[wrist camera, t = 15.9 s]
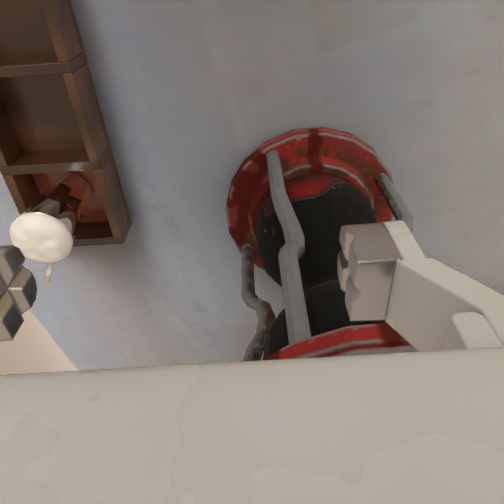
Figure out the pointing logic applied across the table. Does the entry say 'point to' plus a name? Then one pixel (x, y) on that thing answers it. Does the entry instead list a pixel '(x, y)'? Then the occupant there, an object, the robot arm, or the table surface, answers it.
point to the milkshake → (52, 221)
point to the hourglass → (309, 240)
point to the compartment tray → (54, 117)
